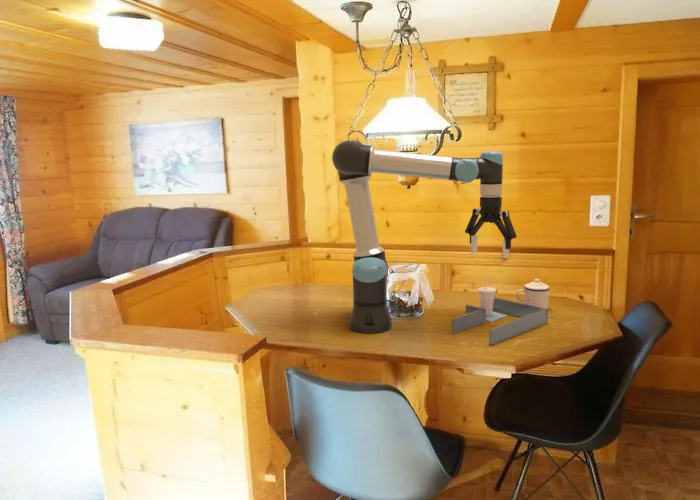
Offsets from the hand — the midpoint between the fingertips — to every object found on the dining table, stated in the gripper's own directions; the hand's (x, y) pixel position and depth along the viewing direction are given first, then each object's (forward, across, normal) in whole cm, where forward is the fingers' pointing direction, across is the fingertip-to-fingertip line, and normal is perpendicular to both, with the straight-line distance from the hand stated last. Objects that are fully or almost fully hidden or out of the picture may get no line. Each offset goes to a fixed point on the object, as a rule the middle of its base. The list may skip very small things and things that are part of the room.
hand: (489, 255), depth 197 cm
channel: (+23, -8, +8) cm, 25 cm away
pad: (+23, 0, 0) cm, 23 cm away
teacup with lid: (+23, -6, -19) cm, 30 cm away
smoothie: (+22, +1, 0) cm, 23 cm away
